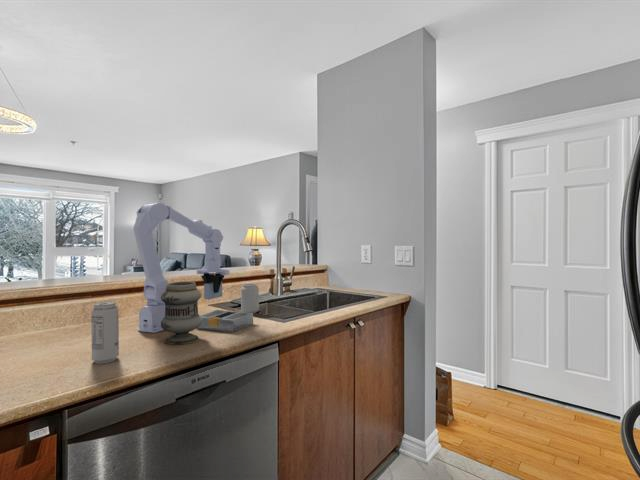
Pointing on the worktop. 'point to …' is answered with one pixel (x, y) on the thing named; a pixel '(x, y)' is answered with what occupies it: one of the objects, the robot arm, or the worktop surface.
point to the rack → (226, 320)
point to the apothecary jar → (181, 312)
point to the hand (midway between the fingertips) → (213, 292)
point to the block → (211, 291)
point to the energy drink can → (105, 332)
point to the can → (250, 298)
